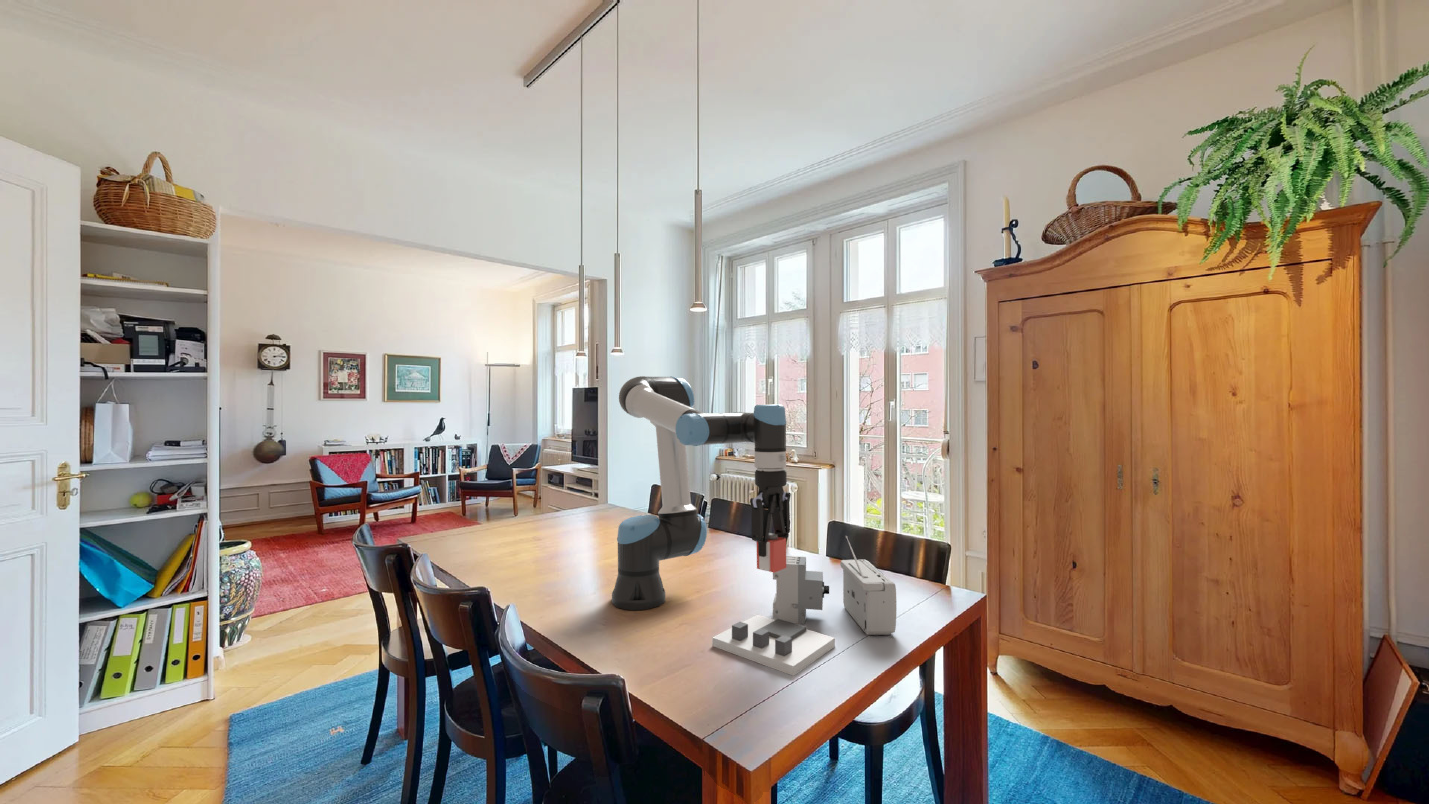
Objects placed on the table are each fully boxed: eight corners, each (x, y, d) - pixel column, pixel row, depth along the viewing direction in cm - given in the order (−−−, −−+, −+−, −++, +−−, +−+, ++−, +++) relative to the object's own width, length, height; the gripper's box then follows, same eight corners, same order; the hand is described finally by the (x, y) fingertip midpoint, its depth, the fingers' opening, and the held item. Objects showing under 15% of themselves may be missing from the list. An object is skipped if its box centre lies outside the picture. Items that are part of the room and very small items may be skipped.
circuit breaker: (829, 625, 143) (829, 566, 143) (772, 621, 146) (772, 563, 146) (829, 614, 151) (829, 558, 151) (775, 610, 154) (775, 555, 154)
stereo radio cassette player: (897, 637, 136) (897, 554, 136) (864, 638, 136) (864, 555, 136) (868, 605, 157) (868, 533, 157) (839, 606, 157) (839, 534, 156)
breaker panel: (712, 646, 132) (712, 624, 132) (757, 622, 145) (757, 602, 145) (793, 675, 117) (793, 651, 117) (834, 646, 131) (834, 624, 131)
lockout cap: (756, 568, 134) (756, 535, 134) (769, 564, 138) (768, 531, 138) (774, 572, 131) (773, 538, 131) (786, 567, 135) (785, 534, 135)
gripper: (760, 473, 125) (762, 579, 125) (804, 466, 139) (805, 561, 139) (734, 471, 130) (735, 572, 130) (779, 464, 144) (780, 556, 144)
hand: (771, 566), depth 135 cm, fingers closed on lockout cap, 5 cm apart
